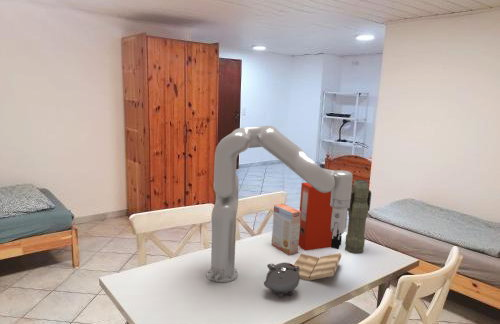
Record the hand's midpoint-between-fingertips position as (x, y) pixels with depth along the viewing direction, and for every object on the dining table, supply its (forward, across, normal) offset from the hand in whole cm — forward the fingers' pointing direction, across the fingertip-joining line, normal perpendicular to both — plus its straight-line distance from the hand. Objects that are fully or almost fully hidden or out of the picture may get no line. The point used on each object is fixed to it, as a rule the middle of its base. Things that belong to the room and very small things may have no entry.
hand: (335, 246), depth 145 cm
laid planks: (+15, +6, +13) cm, 21 cm away
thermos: (+15, +36, -4) cm, 39 cm away
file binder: (+15, +32, +14) cm, 38 cm away
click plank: (+13, +6, +4) cm, 14 cm away
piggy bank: (+15, -18, +16) cm, 29 cm away
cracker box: (+15, +21, +27) cm, 38 cm away
